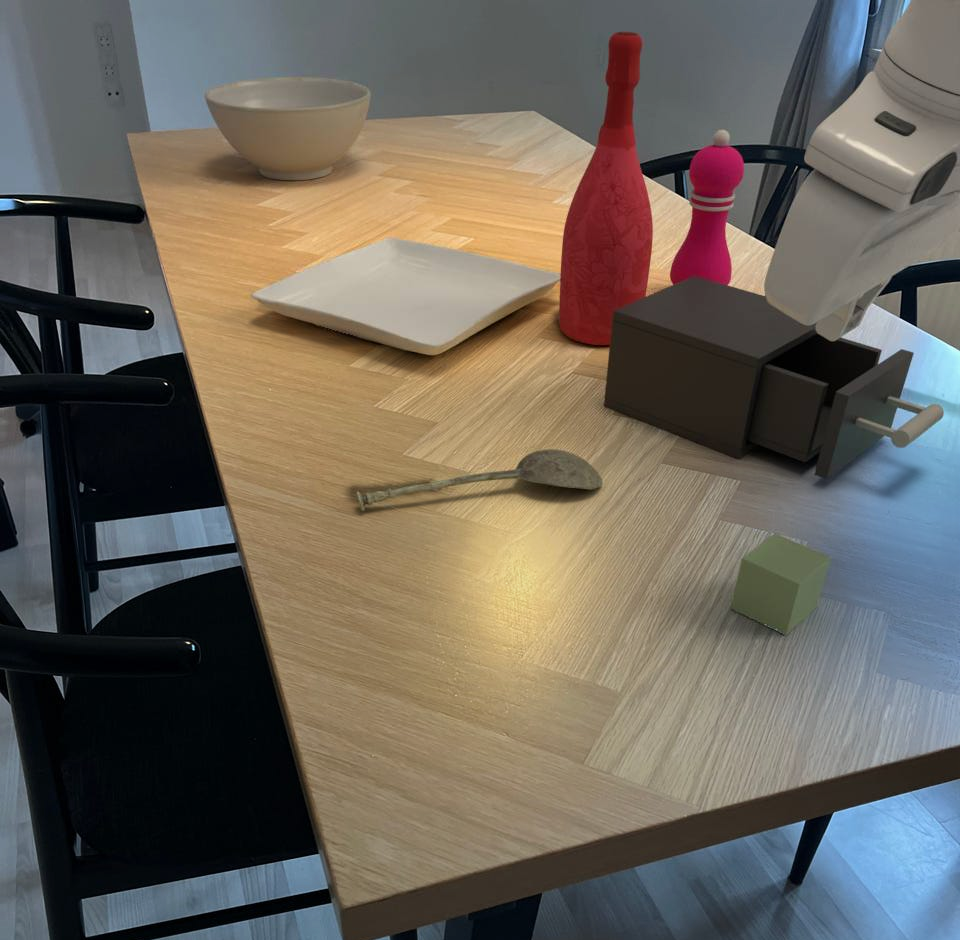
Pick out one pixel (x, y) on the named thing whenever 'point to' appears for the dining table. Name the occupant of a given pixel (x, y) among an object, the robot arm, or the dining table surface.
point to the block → (780, 583)
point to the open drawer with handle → (834, 402)
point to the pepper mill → (709, 213)
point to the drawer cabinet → (697, 360)
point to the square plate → (408, 294)
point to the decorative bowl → (290, 122)
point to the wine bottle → (608, 214)
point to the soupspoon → (515, 475)
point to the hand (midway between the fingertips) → (835, 330)
